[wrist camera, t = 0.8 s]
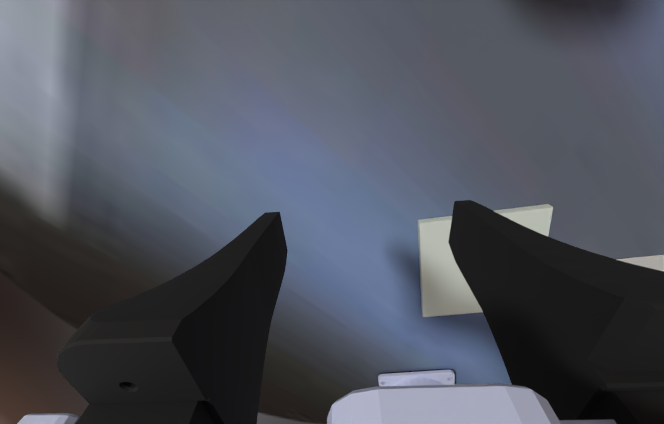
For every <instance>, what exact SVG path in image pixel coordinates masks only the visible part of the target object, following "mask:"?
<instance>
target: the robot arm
mask: <svg viewBox="0 0 664 424" xmlns="http://www.w3.org/2000/svg"><path fill="white" fill-rule="evenodd" d="M448 243H449V245H450V248H451V251H452V254H453V256H454V259H455V262H456V264H457V266H458V267H459V269H460V271H461V273H462V275H463V277H464V278H465V280H466V282H467V284H468V286H469V287H470V289H471V291H472V293H473V295H474V296H475V298H476V300H477V302H478V304H479V305H480V307H481V309H482V311H483V313H484V315H485V317H486V319H487V322H488V324H489V326H490V329H491V331H492V333H493V336H494V338H495V341H496V343H497V346H498V348H499V351H500V353H501V356H502V359H503V361H504V364H505V366H506V369H507V372H508V374H509V377H510V380H511V383H512V385H509V384H501V383H494V384H456V385H455V374H454V371H453V370H434V371H419V372H403V373H388V374H380V375H379V376H378V380H379V387H372V388H366V389H360V390H355V391H352V392H350V393H349V394H347V395H345V396H344V397H342V398H340V399H338V400H337V401H336V402H335V403H334V404H333V405H332V407H331V409H330V412H329V415H328V418H327V424H664V271H660V270H655V269H651V268H647V267H643V266H639V265H634V264H631V263H627V262H623V261H619V260H616V259H612V258H609V257H605V256H602V255H599V254H595V253H592V252H589V251H586V250H583V249H580V248H577V247H574V246H571V245H569V244H566V243H563V242H560V241H558V240H555V239H552V238H550V237H547V236H545V235H543V234H540V233H538V232H536V231H534V230H531V229H529V228H527V227H525V226H523V225H521V224H518V223H516V222H514V221H512V220H510V219H508V218H506V217H504V216H502V215H500V214H498V213H496V212H494V211H492V210H490V209H488V208H486V207H484V206H482V205H480V204H478V203H476V202H473V201H471V200H466V201H455V203H454V209H453V215H452V222H451V228H450V235H449V241H448ZM286 258H287V246H286V241H285V236H284V231H283V226H282V221H281V216H280V212H271V213H264V214H263V215H262V216H261V217H259V218H258V219H257V220H256V221H255V222H254V223H253V224H251V225H250V226H249V227H248V228H247V229H246V230H244V231H243V232H242V233H241V234H240V235H239V236H237V237H236V238H235V239H234V240H232V241H231V242H230V243H229V244H227V245H226V246H225V247H223V248H222V249H221V250H220V251H218V252H217V253H215V254H214V255H213V256H211V257H210V258H208V259H206V260H205V261H203V262H202V263H200V264H199V265H197V266H195V267H194V268H192V269H190V270H188V271H186V272H185V273H183V274H181V275H179V276H177V277H175V278H174V279H172V280H170V281H168V282H166V283H164V284H162V285H159V286H157V287H155V288H153V289H151V290H149V291H146V292H144V293H142V294H139V295H137V296H135V297H132V298H130V299H127V300H124V301H122V302H119V303H116V304H114V305H111V306H108V307H106V308H103V309H100V310H97V311H95V312H93V314H92V315H91V316H90V317H89V318H88V319H87V320H86V321H85V322H84V323H83V325H82V326H81V327H80V328H79V329H78V330H77V331H76V332H75V333H74V335H73V336H72V337H71V338H70V339H69V340H68V341H67V342H66V344H65V345H64V346H63V347H62V348H61V349H60V350H59V351H58V353H57V358H56V362H57V366H58V369H59V371H60V373H61V374H62V375H63V377H64V378H65V379H66V380H67V381H68V382H69V383H70V384H71V385H72V386H73V387H74V388H75V389H76V390H77V391H78V392H79V393H80V395H81V396H82V397H83V398H84V399H85V400H86V401H87V402H88V403H89V405H88V407H87V408H86V410H85V411H84V413H83V414H82V416H81V417H79V416H76V415H73V414H68V413H50V414H49V413H48V414H47V413H46V414H28V415H25V416H24V417H23V418H22V419H21V421H20V422H19V423H18V424H256V423H257V414H258V405H259V397H260V389H261V381H262V373H263V367H264V360H265V353H266V347H267V341H268V335H269V329H270V324H271V319H272V315H273V312H274V308H275V305H276V301H277V297H278V294H279V290H280V287H281V283H282V280H283V276H284V272H285V266H286Z"/></svg>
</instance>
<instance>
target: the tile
mask: <svg viewBox="0 0 664 424" xmlns="http://www.w3.org/2000/svg"><path fill="white" fill-rule="evenodd" d="M552 210H553V207H552V206H550V205H549V204H544V205H536V206H528V207H520V208H512V209H503V210H495V211H494V212H496V213H498V214H500V215H502V216H504V217H506V218H508V219H510V220H512V221H514V222H516V223H518V224H521V225H523V226H525V227H527V228H529V229H531V230H534V231H536V232H538V233H540V234H543V235H545V236H547V237H548V234H549V228H550V222H551V216H552ZM451 222H452V216H446V217H438V218H430V219H421V220H418V242H419V264H420V286H421V308H422V315H423V317H432V316H444V315H456V314H467V313H479V312H483V311H482V309H481V307H480V305H479V304H478V302H477V300H476V298H475V296H474V295H473V293H472V291H471V289H470V287H469V286H468V284H467V282H466V280H465V278H464V277H463V275H462V273H461V271H460V269H459V267H458V266H457V264H456V262H455V259H454V256H453V254H452V251H451V248H450V245H449V243H448V241H449V235H450V228H451Z"/></svg>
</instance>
